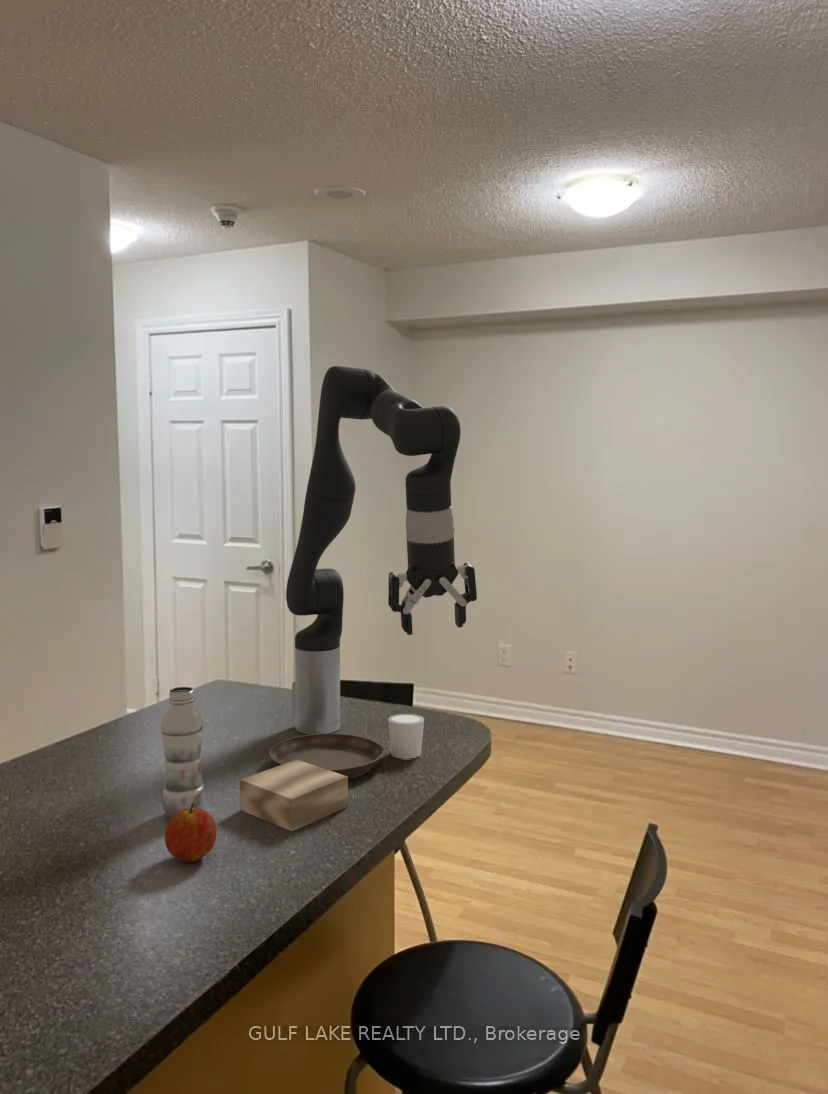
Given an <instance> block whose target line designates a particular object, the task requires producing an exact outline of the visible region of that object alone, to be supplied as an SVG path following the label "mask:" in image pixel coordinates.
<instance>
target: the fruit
mask: <svg viewBox="0 0 828 1094" xmlns="http://www.w3.org/2000/svg"><path fill="white" fill-rule="evenodd" d="M193 806H194V804H193V803H192V805H191V808H187V809H184V810H181V811H179V812H178V813H176V814H175V815H174V816H172V817H171V818H169V820H168V821H167V824H166V826H165V830H164V844H165V848H166V850H167V851H168V853H169V854H170V855H171V856H172V857H174V858H176V859H178V860H180V861H182V862H184V863H189V864H190V863H192V862H196V861H197V862H198V861H199V860H201V859H203V858H204V857H205V856H207V855H208V854H209V853H210V852H211V851H212V849H213V847H214V846H215V844H216V840H217V832H218V831H217V826H216V823H215V820H214V818H213V817H212V815H211V814H210V813H209V812H208V811H206V810H205V809H195V808H193Z"/></svg>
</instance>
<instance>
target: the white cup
mask: <svg viewBox="0 0 828 1094" xmlns="http://www.w3.org/2000/svg"><path fill="white" fill-rule="evenodd" d="M387 719H388V720H387V721H388V722H387V723H388V731H389V732H388V733H389V744H390V754H391V757H393V758H394V757H396V758H395V759H397V758H402V759H401V760H411V759H410V758H415V759H417V758H416V757H418V756H419V757H421V755H422V747H423V746H422V745H423V735H424V726H425V725H424V724H425V718H424V717H423V716H421V715H419V714H414V713H399V714H394V715H391V716H389V717H387ZM420 754H421V755H420ZM419 757H418V758H419Z"/></svg>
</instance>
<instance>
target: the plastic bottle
mask: <svg viewBox="0 0 828 1094" xmlns="http://www.w3.org/2000/svg"><path fill="white" fill-rule="evenodd" d="M194 692H195V690H194V688H193V687H190V686H180V687H179V686H177V687H174V688H171V689H169V693H168V694H169V696H168V697H169V698H168V703H169V705H170V707H168V709H167V711H165V713H164V715H163V716H162V718H161V721H160V725H159V726H160V732H161V733H160V734H161V739H162V745H163V751H164V752H163V753H164V759H165V760H164V764H165V765H164V766H165V771H164V786H163V790H162V800H161V803H162V808H163V809H162V810H163V813H165V815H166V816H167V817H169V819H171V817H172V816H174V815H175V814H176V813H178V812H179V811H181V810H184V809H187V808H191V805H192V803H193V804H194V806H193V808H195V809H202V810H204V808H205V803H206V792H205V791H206V790H205V786H204V783H203V774H202V766H201V760H202V759H201V755H202V739H203V732H204V731H203V730H204V720H203V718H202V715H201V713H200V712H199V710H198V709H197V707H196V706H195V705H194V703H193V702H195V693H194Z"/></svg>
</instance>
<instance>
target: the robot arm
mask: <svg viewBox="0 0 828 1094" xmlns="http://www.w3.org/2000/svg"><path fill="white" fill-rule="evenodd" d="M317 417H318V418H317V428H316V437H315V442H314V443H315V445H314V451H313V456H312V462H311V466H310V473H309V477H308V481H307V486H306V487H307V488H306V492H305V498H304V504H303V505H304V506H303V512H302V517H301V518H302V519H301V524H300V529H299V535H298V540H297V545H296V547H295V551H294V556H293V559H292V562H291V565H290V566H291V567H290V570H289V573H288V578H287V582H286V590H285V601H286V605H287V609H288V610H289V612H290V613H291V614H292V615H294V616H298V617H299V616H300V617H301V616H302V617H305V616H306V617H307V616H315V615H317V616H316V618H315V619H314V621H313V622H312V623H311V624H309V625H308V626H306V627H305V628H303V629H301V630H299V631H297V632H296V634H295V636H294V667H295V668H294V674H295V675H294V677H295V679H294V681H292V683H291V709H292V710H291V711H292V712H291V717H292V718H291V720H292V721H291V722H292V723H291V726H292V728H295V730H296V731H297V732H299V733H302V734H305V735H312V734H333V733H335V732H337V731H339V729H340V727H341V636H342V632H343V618H344V617H343V616H344V600H345V599H344V597H345V596H344V593H345V592H344V583H343V579H342V575H340V573H339V572H338V571H337V570H336V569H334V568H317V567H318V564H319V561H320V559H321V557H322V555H323V553H325V550H326V549H327V548H328V547H329V546H330V544H332V542H333V541H334V540H335V539H336V538H337V537H338V535H339V534H340V533H341V532H342V531H343V529H344V527H345V526H346V524H348V521H349V519H350V518H351V514H352V509H353V505H354V499H355V494H356V480H355V477H354V474H353V472H352V469H351V467H350V465H349V463H348V460H347V459H346V456H345V454H344V452H343V449H342V446H341V443H340V442H341V441H340V435H339V433H340V422H341V419H349V420H350V419H351V420H364V421H365V420H372V423H373V425H375V427H376V428H377V429H378V430H379V431H380V432H382V433H383V434H384V435H387V436H388V437H390V439H391V441H392V444H393V447H394V449H395V450H396V452H398V453H399V454H400V455H402V456H403V455H404V456H407V457H408V456H409V457H415V456H422V455H423V456H424V455H429V454H430V456H429V457H430V458H429V459H428V461H427V462H426V464H424V465H422V466H420V467H417V468H415V469H412V470H411V471H409V472H408V473H407V474H406V476H405V498H406V499H405V500H406V502H405V503H406V504H405V505H406V515H405V532H406V554H407V570H406V572H405V573H402V572H401V573H396V572H394V571H391V572H389V573H388V591H387V592H388V598H387V599H388V600H387V601H388V607H389V608H390V609H391V611H392V612H393V613H397V612H398V613H400V622H401V623H400V624H401V626H400V627H401V629H402V630H403V631H404V633H406V634H407V636H411V635H413V618H412V617H413V615H412V613H411V611H412V609H413V608H414V607H415V605H416V604H418V603H419V601H420V600H421V598H422V597H424V598H425V599H426V598H431V597H434V596H438V597H441V596H442V597H443V596H444V595H445V594H447V593H448V594H449V595H450V596H451V597H452V598H453V599H454V600H455V602H454V623H455V625H456V627H457V628H458V629H460V628H463V627H464V624H466V623H467V605H468V604H469V603H471V602H475V601H477V598H478V596H477V595H478V592H477V583H476V580H477V579H476V569H475V568H474V566H473V565H471V564H470V563H469V562H464V563H463V565H459V566H456V563H455V560H456V559H455V526H454V515H453V510H452V490H451V487H452V486H451V482H452V476H453V475H452V474H453V470H454V465H455V460H456V456H457V453H458V449H459V444H460V439H461V423H460V420H459V417H458V415H457V413H456V412H455V411H454V410H453V409H452V408H451V407H450V406H445V405H439V406H431V407H429V406H428V407H423V406H422V405H421V404H420V403H419V402H417V400H414V399H413V398H410V397H408V396H406V395H405V394H402V393H400V392H398V391H396V390H395V389H394V388H393V387H392V386H391V384H389V382H387V380H386V379H385V378H384V377H383V376H381V375H380V374H379V373H378V372H376V371H374V370H370V369H366V368H365V369H364V368H359V367H358V368H357V367H349V366H340V365H333V366H331V367H329V368H328V369H327V370H326V372H325V374H324V377H323V380H322V384H321V390H320V397H319V408H318V416H317ZM459 575H460V577H461V578H462V579H463V580H464V581H463V582H464V593H462V594H460V592H459V591H458V590H457V589H456V588H455V586H453V583H454V581H455V580H456V579H457V577H458V576H459ZM404 582H408V584H409V588H408V589H407V590H406V591H405V595H404V597H403V599H402V600H401V602H400V589H401V588H402V587H403V585H404Z"/></svg>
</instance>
